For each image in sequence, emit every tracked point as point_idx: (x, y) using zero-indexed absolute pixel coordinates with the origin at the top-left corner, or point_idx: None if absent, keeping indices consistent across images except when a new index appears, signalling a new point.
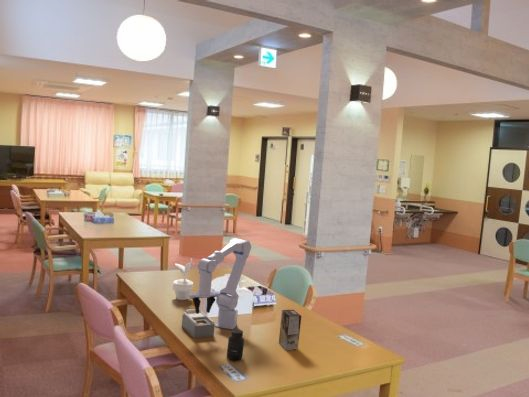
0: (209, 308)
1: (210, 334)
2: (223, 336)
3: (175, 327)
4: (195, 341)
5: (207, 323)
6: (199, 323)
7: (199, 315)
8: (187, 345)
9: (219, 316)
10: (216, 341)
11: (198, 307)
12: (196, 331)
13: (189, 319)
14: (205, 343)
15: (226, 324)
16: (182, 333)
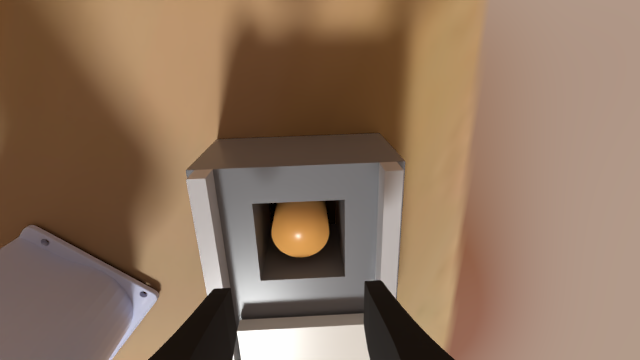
0: (201, 326)
1: (242, 141)
2: (138, 117)
3: (417, 319)
4: (390, 71)
5: (255, 201)
6: (315, 244)
7: (280, 353)
8: (484, 6)
9: (91, 350)
10: (225, 28)
11: (407, 337)
12: (371, 146)
13: None
14: (330, 9)
15: (64, 274)
16: (417, 228)
